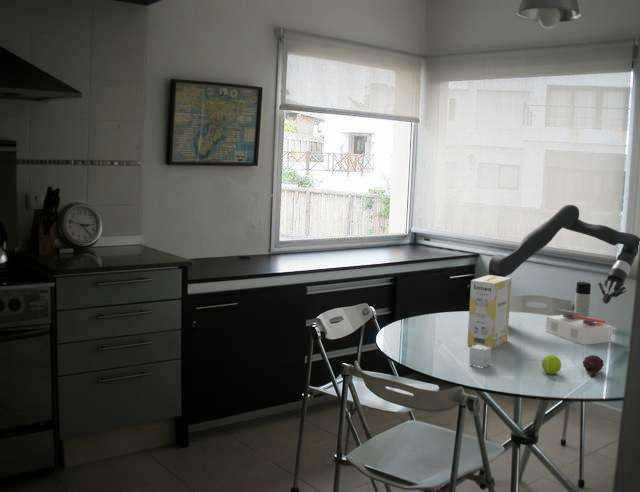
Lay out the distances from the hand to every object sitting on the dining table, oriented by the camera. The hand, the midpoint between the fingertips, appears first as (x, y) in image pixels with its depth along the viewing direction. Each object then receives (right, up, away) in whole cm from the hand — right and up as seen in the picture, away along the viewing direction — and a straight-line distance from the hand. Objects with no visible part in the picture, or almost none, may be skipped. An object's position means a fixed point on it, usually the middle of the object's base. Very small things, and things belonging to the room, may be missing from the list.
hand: (605, 302), depth 324 cm
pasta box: (-56, -17, -12) cm, 59 cm away
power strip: (-11, -16, +3) cm, 19 cm away
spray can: (-1, -13, +29) cm, 31 cm away
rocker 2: (-8, -7, -4) cm, 12 cm away
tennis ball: (-41, -23, -53) cm, 71 cm away
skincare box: (-66, -21, -45) cm, 83 cm away
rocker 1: (-13, -6, +8) cm, 17 cm away
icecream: (-25, -23, -50) cm, 60 cm away
